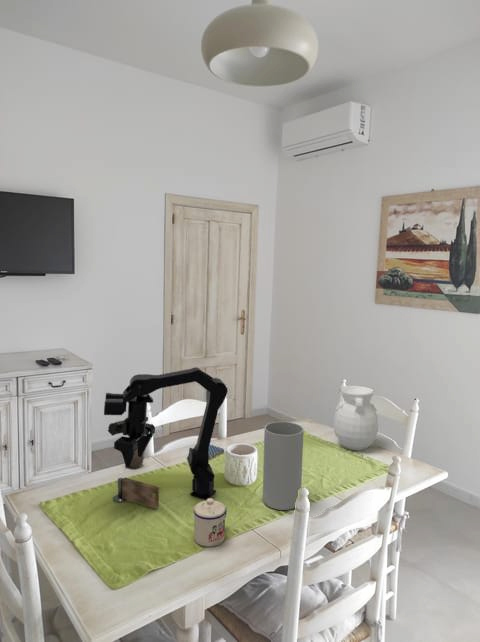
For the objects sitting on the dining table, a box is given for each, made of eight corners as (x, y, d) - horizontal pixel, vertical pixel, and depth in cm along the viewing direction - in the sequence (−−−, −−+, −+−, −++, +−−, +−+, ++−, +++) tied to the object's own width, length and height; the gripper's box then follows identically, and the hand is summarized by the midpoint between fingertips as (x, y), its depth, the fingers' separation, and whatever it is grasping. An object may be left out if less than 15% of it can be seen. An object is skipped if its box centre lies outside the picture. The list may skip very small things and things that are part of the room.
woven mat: (189, 455, 195) (189, 450, 195) (205, 447, 204) (205, 442, 204) (209, 461, 189) (209, 457, 189) (225, 453, 198) (225, 448, 198)
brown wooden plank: (159, 506, 152) (159, 487, 151) (155, 509, 151) (155, 489, 150) (125, 496, 158) (124, 477, 157) (120, 498, 157) (120, 479, 156)
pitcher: (331, 436, 217) (334, 382, 214) (373, 439, 215) (376, 385, 211) (333, 453, 199) (336, 394, 196) (379, 456, 196) (383, 397, 193)
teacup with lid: (211, 551, 131) (212, 511, 129) (186, 539, 136) (186, 501, 135) (237, 532, 141) (238, 494, 139) (213, 521, 146) (214, 485, 144)
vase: (139, 470, 179) (139, 448, 178) (121, 468, 180) (121, 446, 179) (146, 463, 186) (146, 441, 185) (129, 461, 187) (129, 439, 186)
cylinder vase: (275, 488, 167) (277, 419, 164) (307, 499, 160) (310, 427, 157) (255, 503, 157) (257, 429, 154) (288, 515, 150) (291, 438, 147)
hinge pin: (131, 497, 159) (131, 477, 158) (121, 504, 155) (121, 483, 154) (119, 493, 162) (119, 474, 161) (109, 500, 157) (109, 480, 156)
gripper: (126, 403, 164) (123, 447, 166) (99, 419, 146) (96, 469, 148) (157, 408, 162) (153, 453, 164) (133, 425, 144) (130, 475, 146)
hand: (133, 461), depth 155 cm, fingers open, 9 cm apart
